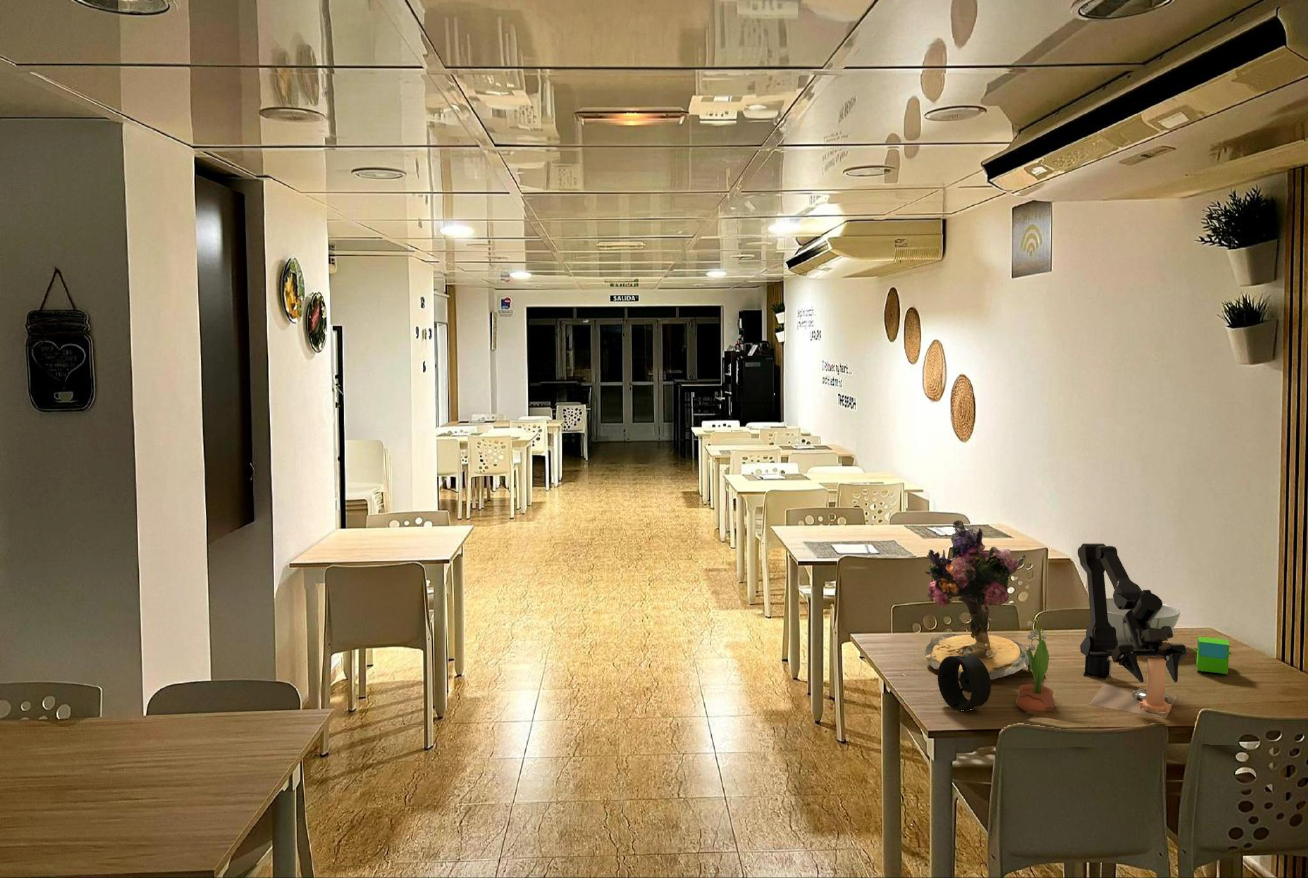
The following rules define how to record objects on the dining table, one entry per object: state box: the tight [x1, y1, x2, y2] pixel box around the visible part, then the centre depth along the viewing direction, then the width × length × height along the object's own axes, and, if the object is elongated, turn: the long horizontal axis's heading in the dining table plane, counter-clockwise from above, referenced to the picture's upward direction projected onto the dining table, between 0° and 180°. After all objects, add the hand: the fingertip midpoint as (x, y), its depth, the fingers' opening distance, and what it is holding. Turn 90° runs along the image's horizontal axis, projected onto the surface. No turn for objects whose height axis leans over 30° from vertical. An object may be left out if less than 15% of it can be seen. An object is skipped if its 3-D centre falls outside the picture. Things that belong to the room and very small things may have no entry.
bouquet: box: [924, 519, 1031, 680], centre depth 326 cm, size 33×44×45 cm
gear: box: [1132, 688, 1168, 702], centre depth 297 cm, size 9×9×2 cm
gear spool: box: [1139, 657, 1172, 713], centre depth 288 cm, size 8×8×13 cm
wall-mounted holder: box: [937, 655, 992, 712], centre depth 292 cm, size 14×14×10 cm
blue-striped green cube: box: [1193, 636, 1232, 676], centre depth 329 cm, size 10×13×10 cm
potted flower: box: [1015, 617, 1056, 712], centre depth 291 cm, size 12×10×25 cm
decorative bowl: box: [1106, 597, 1181, 647], centre depth 357 cm, size 27×27×12 cm
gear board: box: [1088, 684, 1178, 719], centre depth 295 cm, size 19×21×2 cm
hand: (1159, 681), depth 286 cm, fingers open, 9 cm apart
